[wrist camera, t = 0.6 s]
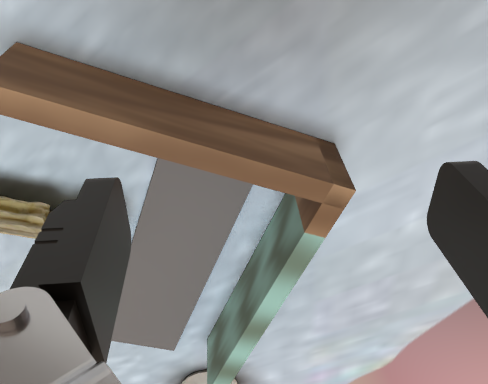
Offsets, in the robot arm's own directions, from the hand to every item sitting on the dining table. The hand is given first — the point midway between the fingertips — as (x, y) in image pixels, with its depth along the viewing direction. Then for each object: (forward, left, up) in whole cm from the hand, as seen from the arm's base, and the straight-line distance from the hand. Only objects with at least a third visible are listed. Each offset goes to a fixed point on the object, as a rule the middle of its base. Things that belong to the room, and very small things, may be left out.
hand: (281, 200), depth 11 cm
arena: (+18, -1, -17) cm, 25 cm away
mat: (+20, +1, -17) cm, 26 cm away
